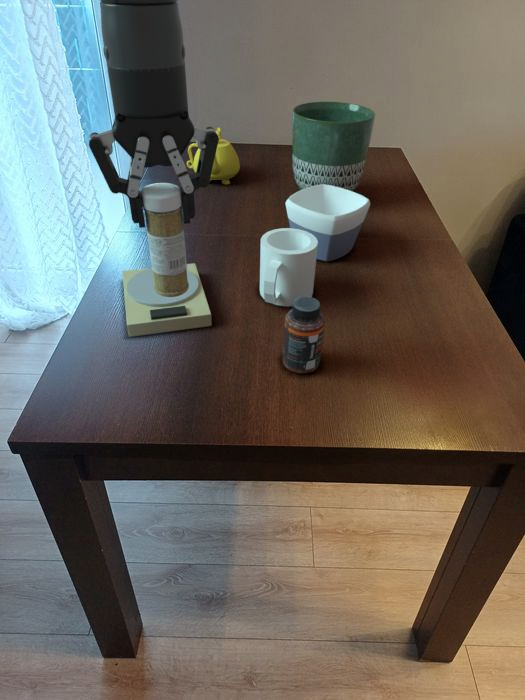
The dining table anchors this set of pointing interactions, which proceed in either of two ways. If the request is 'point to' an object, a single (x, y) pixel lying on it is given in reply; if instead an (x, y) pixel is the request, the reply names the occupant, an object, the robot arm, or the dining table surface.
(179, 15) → the robot arm
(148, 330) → the scale
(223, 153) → the teapot
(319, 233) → the bowl
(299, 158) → the planter
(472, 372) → the dining table surface
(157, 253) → the sprinkles bottle
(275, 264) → the mug
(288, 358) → the supplement bottle
